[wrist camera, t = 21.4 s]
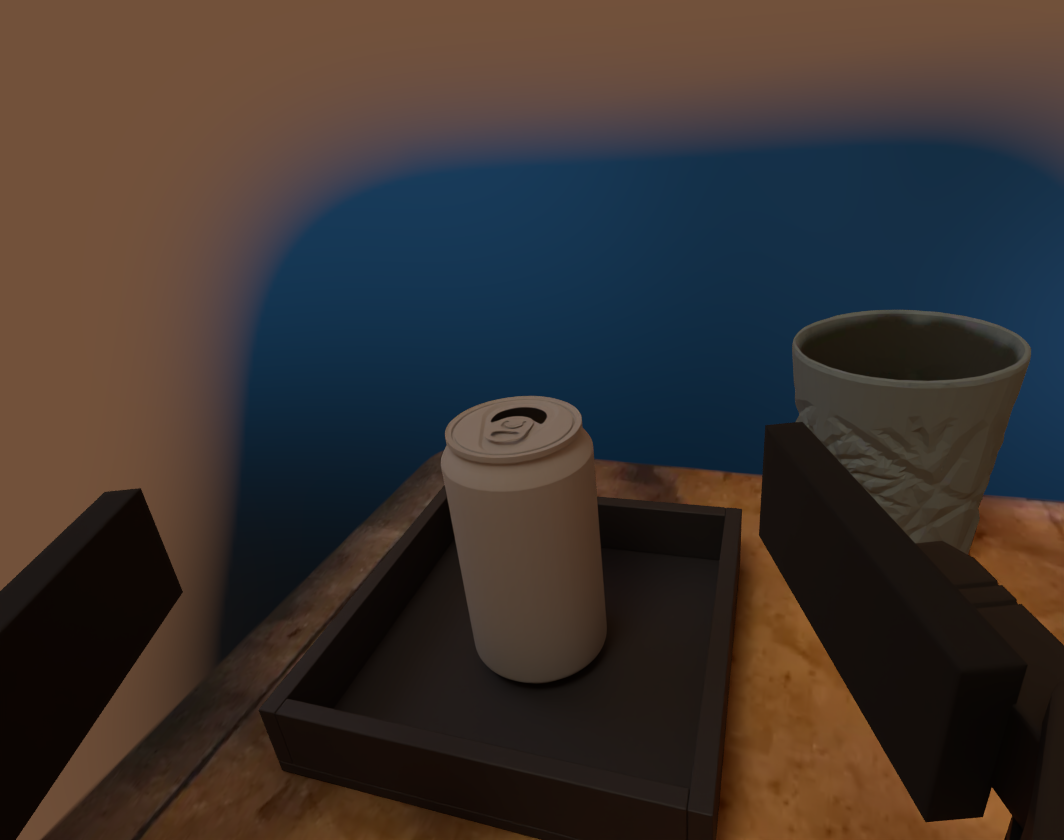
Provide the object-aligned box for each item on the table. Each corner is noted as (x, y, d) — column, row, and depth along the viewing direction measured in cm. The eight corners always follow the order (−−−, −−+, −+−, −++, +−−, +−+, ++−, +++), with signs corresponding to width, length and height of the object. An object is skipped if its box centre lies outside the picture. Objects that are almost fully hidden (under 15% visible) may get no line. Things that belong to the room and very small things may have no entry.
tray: (281, 770, 28) (257, 709, 27) (454, 531, 43) (445, 483, 41) (712, 886, 22) (713, 816, 21) (739, 562, 37) (741, 508, 36)
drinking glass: (966, 504, 40) (1005, 309, 35) (1004, 619, 31) (1063, 384, 26) (785, 487, 44) (796, 308, 38) (775, 585, 35) (788, 374, 30)
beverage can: (618, 606, 34) (604, 391, 29) (592, 706, 29) (569, 463, 24) (501, 592, 36) (469, 388, 31) (456, 684, 31) (408, 455, 26)
